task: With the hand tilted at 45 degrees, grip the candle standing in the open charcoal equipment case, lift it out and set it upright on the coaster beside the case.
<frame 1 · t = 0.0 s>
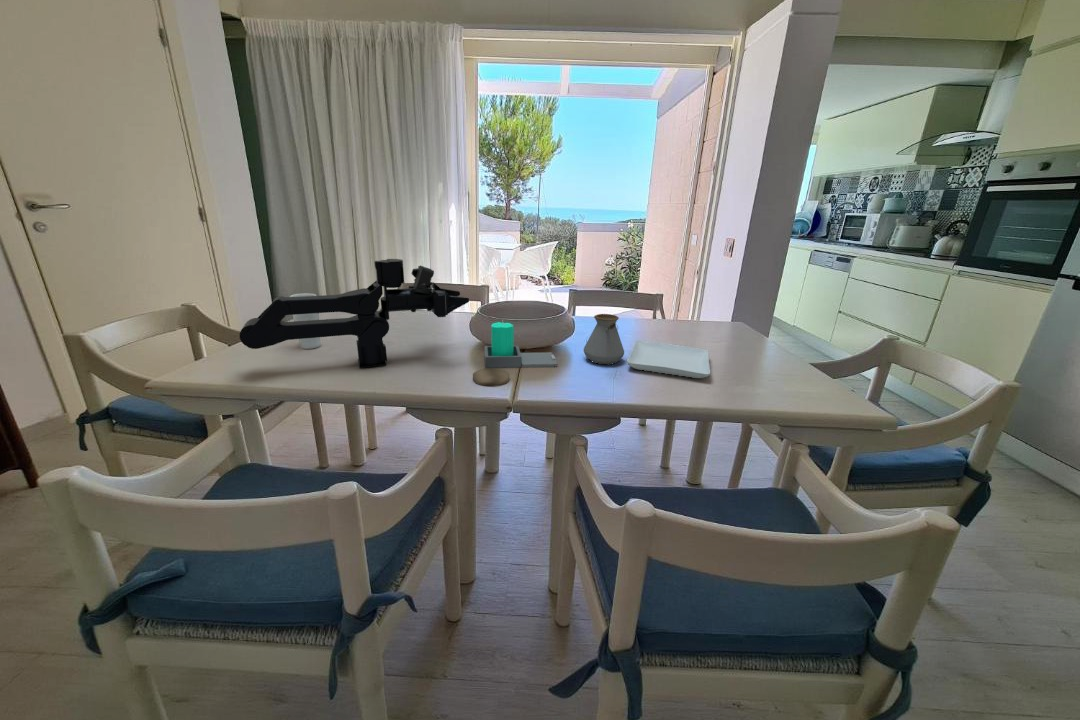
hand: (464, 296, 118), 17 cm above the table, tool horizontal, fingers open, 9 cm apart
salad plate: (667, 366, 121), on the table
drinking glass: (310, 347, 125), on the table
candle: (502, 362, 119), resting in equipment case
coaster: (491, 379, 107), on the table
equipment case: (502, 361, 119), on the table
coffee pot: (604, 367, 118), on the table
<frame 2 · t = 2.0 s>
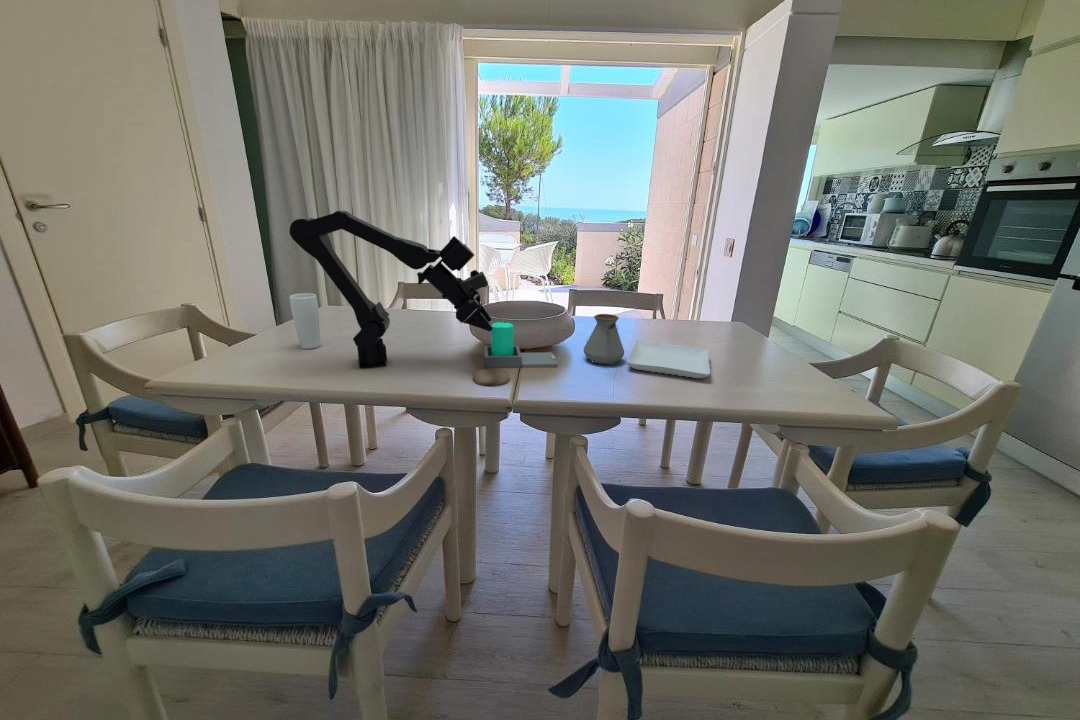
hand: (490, 325, 115), 10 cm above the table, tool tilted 45°, fingers open, 9 cm apart
nothing on the table moved.
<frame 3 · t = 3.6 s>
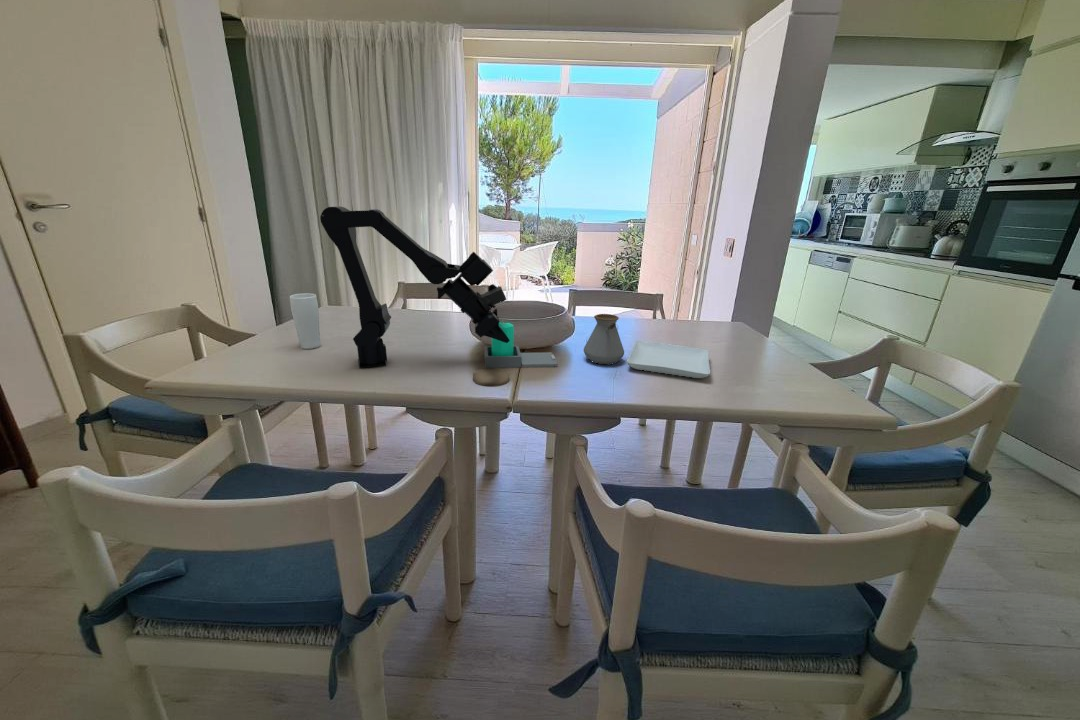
hand: (507, 338, 117), 7 cm above the table, tool tilted 45°, fingers closed on candle, 5 cm apart
candle: (502, 362, 119), resting in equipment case, touching gripper
everything else where it was.
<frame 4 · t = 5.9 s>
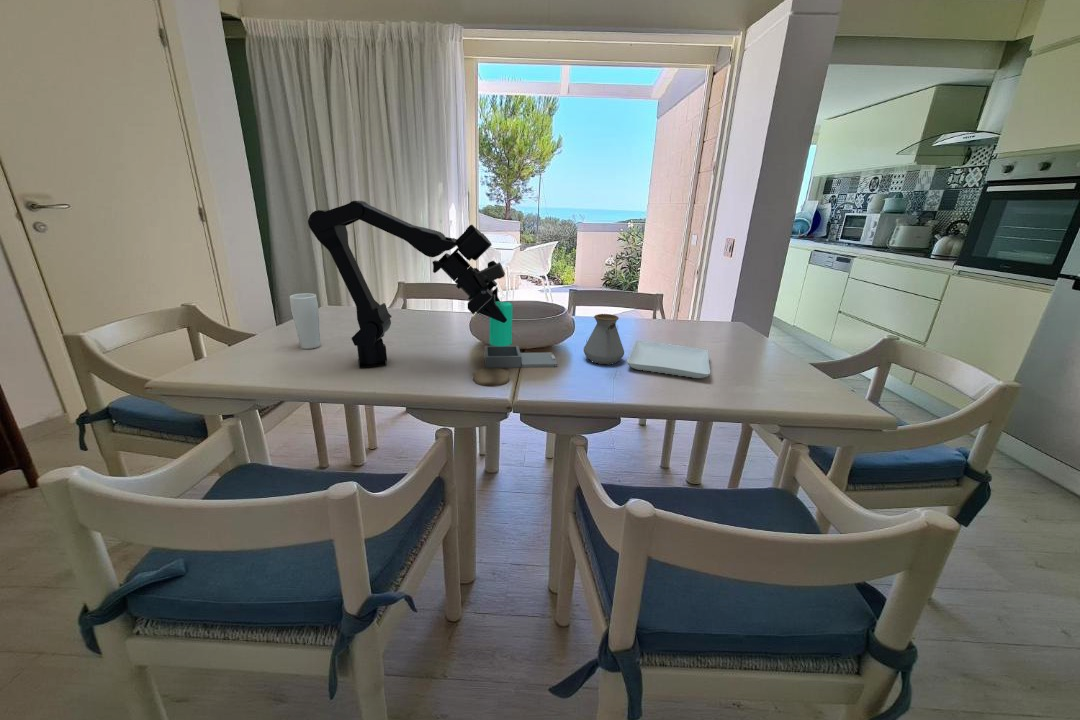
hand: (506, 318, 111), 13 cm above the table, tool tilted 45°, fingers closed on candle, 5 cm apart
candle: (500, 343, 113), point 6 cm above the table, touching gripper
everything else where it was.
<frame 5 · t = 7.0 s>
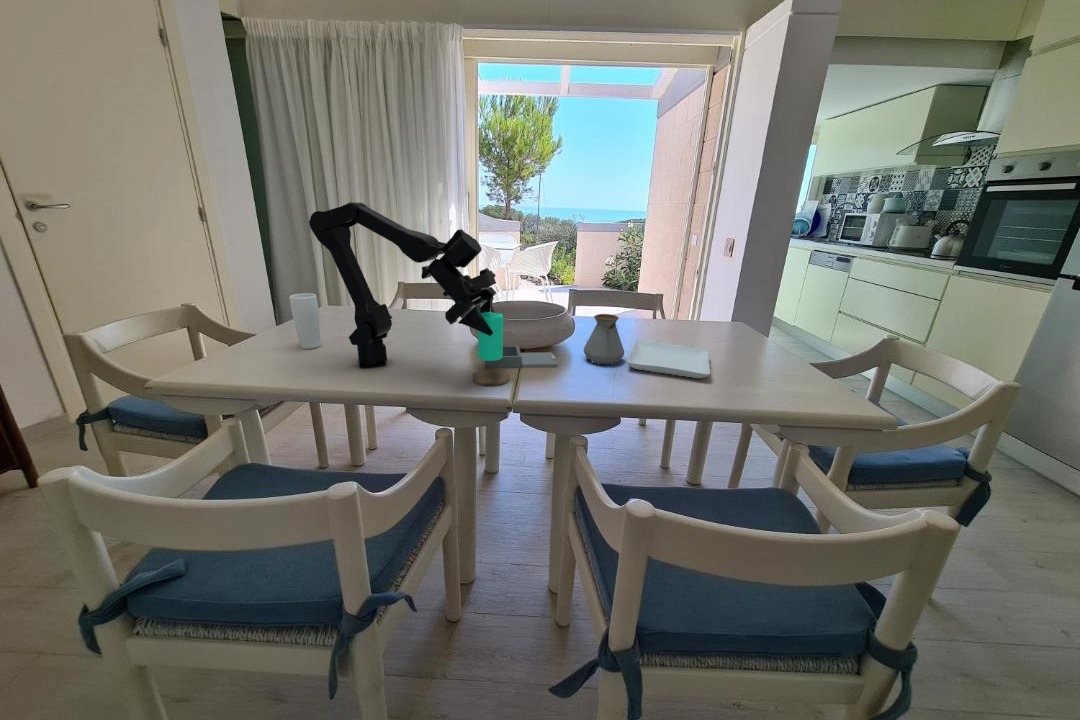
hand: (495, 331, 102), 12 cm above the table, tool tilted 45°, fingers closed on candle, 5 cm apart
candle: (490, 357, 105), point 6 cm above the table, touching gripper
everything else where it was.
when the fingers open (9 cm above the table, at t = 8.1 s): candle stays where it is, resting on coaster.
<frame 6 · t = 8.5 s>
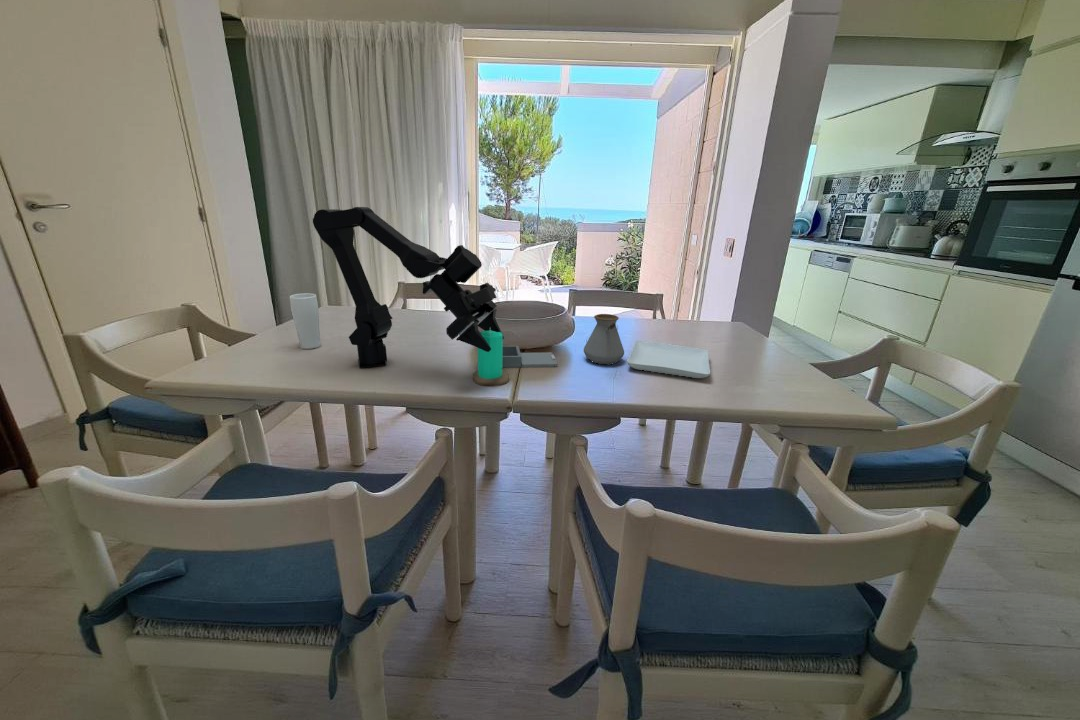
hand: (496, 344, 103), 9 cm above the table, tool tilted 45°, fingers open, 9 cm apart
candle: (490, 375, 106), point 1 cm above the table, touching coaster
everything else where it was.
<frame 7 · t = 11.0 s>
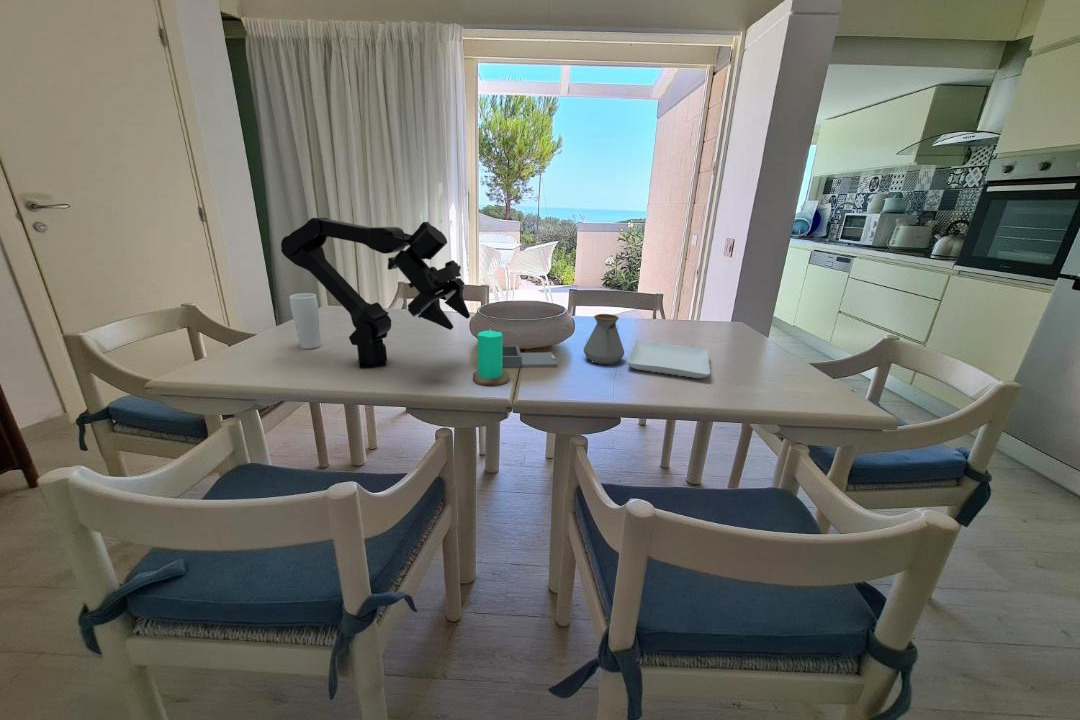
hand: (460, 322, 104), 13 cm above the table, tool tilted 45°, fingers open, 9 cm apart
nothing on the table moved.
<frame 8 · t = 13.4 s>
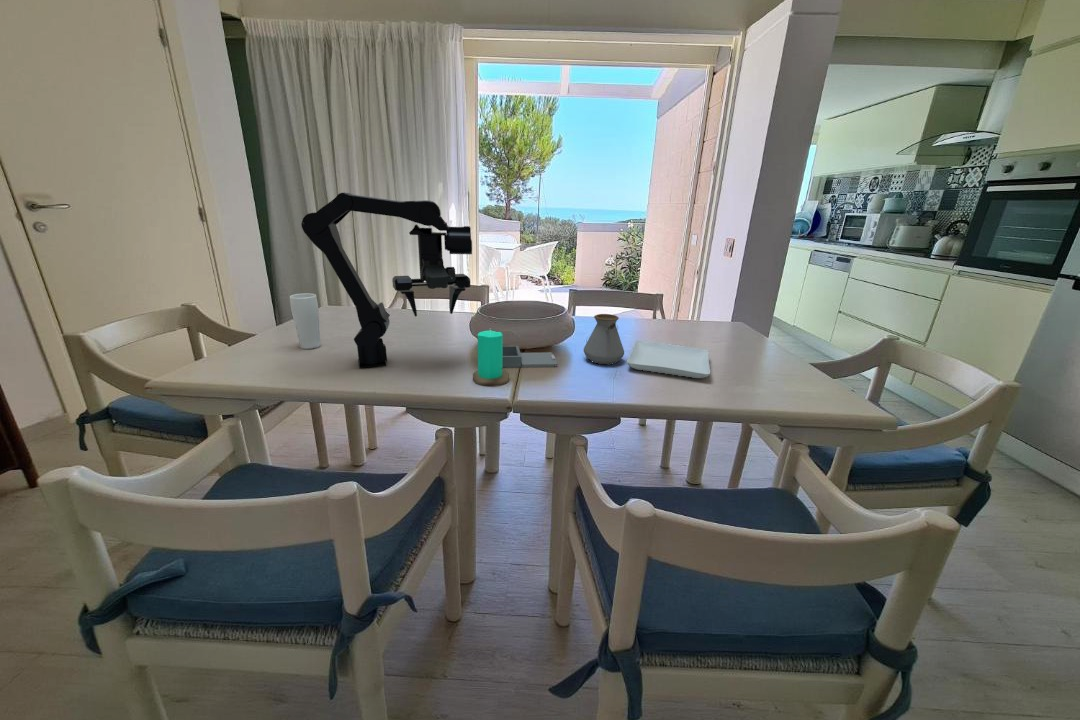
hand: (433, 314, 112), 13 cm above the table, tool pointing down, fingers open, 9 cm apart
nothing on the table moved.
at the end: candle 0.3 cm off-centre on the coaster, point 1.0 cm above the coaster's base; candle tilted 0°; the gripper is holding nothing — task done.
